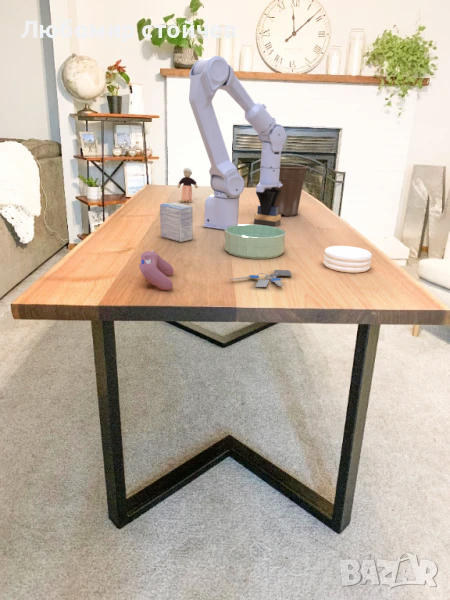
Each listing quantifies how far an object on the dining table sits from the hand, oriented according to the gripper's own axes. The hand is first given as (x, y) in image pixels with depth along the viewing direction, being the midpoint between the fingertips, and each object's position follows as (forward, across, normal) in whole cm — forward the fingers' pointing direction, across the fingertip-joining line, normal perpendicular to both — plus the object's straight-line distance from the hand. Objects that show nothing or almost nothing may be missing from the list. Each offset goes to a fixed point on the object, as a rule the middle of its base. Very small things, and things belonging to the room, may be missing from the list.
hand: (267, 213), depth 135 cm
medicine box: (+3, -32, +12) cm, 34 cm away
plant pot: (+3, +20, +3) cm, 20 cm away
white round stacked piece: (+3, -32, -32) cm, 45 cm away
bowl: (+3, -32, -10) cm, 34 cm away
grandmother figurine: (+3, +20, +41) cm, 46 cm away
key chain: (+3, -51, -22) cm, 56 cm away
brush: (+3, 0, 0) cm, 3 cm away
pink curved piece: (+3, -63, -4) cm, 63 cm away
